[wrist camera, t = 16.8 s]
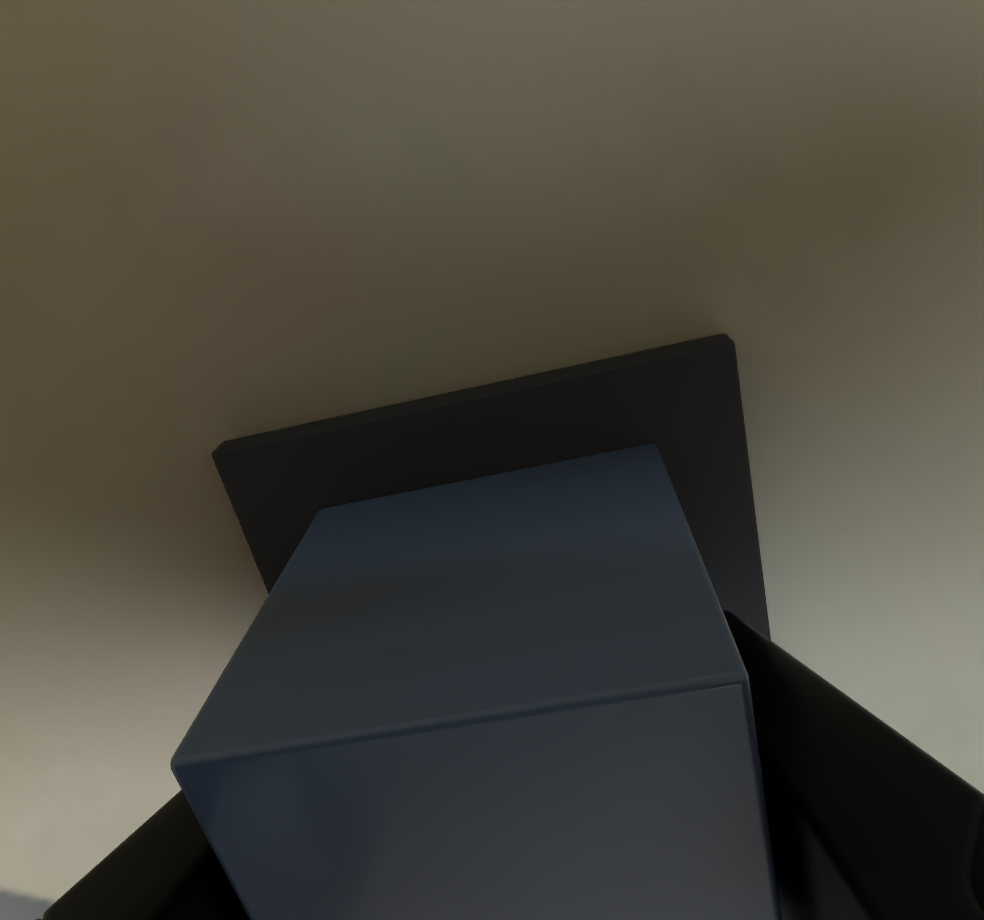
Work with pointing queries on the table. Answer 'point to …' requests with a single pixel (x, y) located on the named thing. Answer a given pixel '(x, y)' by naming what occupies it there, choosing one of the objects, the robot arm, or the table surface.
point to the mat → (523, 453)
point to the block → (490, 714)
